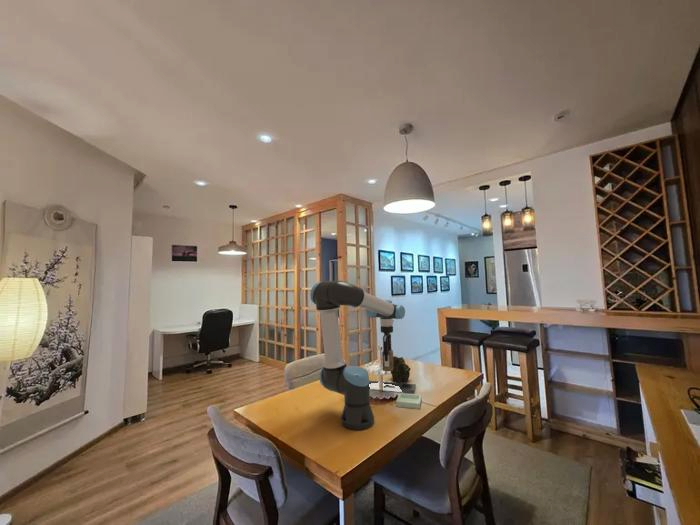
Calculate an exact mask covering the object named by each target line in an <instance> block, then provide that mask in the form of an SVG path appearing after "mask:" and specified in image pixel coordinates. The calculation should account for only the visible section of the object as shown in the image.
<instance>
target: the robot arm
mask: <svg viewBox="0 0 700 525" xmlns="http://www.w3.org/2000/svg"><path fill="white" fill-rule="evenodd" d="M309 298H310V301H311V302H312V303H313V304H314V305H315V307H316V311H317V312H318V313H319V316H320V325H321V335H322V342H323V351H324V362H323V363H322V367H321V368H320V372H319V376H318V378H319V382H320V384H321V386H322V387H323V388H325V389H326V390H328V391H331V392H333V393H337V394H340V395H342V396H343V397H344V399H343V400H344V405H343V408H342V413H341V416H340V424H341V426H343V427H344V428H346V429H347V430H351V431H361V430H366V429H369V428H371V427H373V425H374V424H375V415H374V412H373V409H372V406H371V400H370V399H371V396H370V395H371V394H370V393H371V392H370V391H371V390H370V387H369V382H370V381H369V380H370V374H369V372H368V370H367V369H366V368H364V367H362V366H354V365H349V366H347V361H346V360H345V359H344V358H343V350H342V342H341V340H342V339H341V332H340V331H341V330H340V324H339V314H338V310H339V309H340V308H341V306H350V307H353V308H358V307H360V308H363V309H365V313H366V316H367V317H368V318H369V319H375V318H380V320H379V323H380V324H379V325H380V333H382V334H383V336H382V346H383V347H382V348H383V349H382V351H383V355H384V365H385V366H386V367H389V354H388V353H389V350H393V349H392V333H394V326H393V324H394V322H395V320H402V319H404V317H405V316H406V309H405V306H403V305H402V304H401V305H400V304H394V303H393V301H392V300H391V299H382V298H380V297H377V296H375V295H373V294H370V293H367V292H365V291H364V289H363V288H361V287H360V286H357V285H355V284H352V283H350V282H347V281H344V280H323V281H319V282H316V283H314V284H313V286H312V287H311V289H310V293H309ZM394 319H395V320H394Z"/></svg>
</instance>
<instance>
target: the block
mask: <svg viewBox="0 0 700 525" xmlns="http://www.w3.org/2000/svg"><path fill="white" fill-rule="evenodd" d="M388 354H389V367H386V366H385V365H384V355H383V350H382V352H381V358H382V360H381V362H382V372H390V373H391V372H392V371H393V369H394V368H393V357H394V350H393V349H392V350H389V353H388Z"/></svg>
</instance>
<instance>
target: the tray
mask: <svg viewBox="0 0 700 525" xmlns="http://www.w3.org/2000/svg"><path fill="white" fill-rule="evenodd" d="M422 399H423V398H422V394H415V393H414V394H408V393H398V396H397V398H396V401H395V404H396V407H397V408H406V409H413V410H414V409H415V410H421V404H422Z"/></svg>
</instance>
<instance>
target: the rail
mask: <svg viewBox="0 0 700 525" xmlns="http://www.w3.org/2000/svg"><path fill="white" fill-rule="evenodd" d="M369 381H370V382H369V384H371V383H378V382H379V381H380V380H371V379H369ZM383 383H384V384H392V385H395V386H399V387H400V389H401V390H402V392H403V393H406V394H415V391H416V389H417V385H416V383H408V382H406V383H400V382H396V381H395V382H393V381H392V382H391V381H383Z"/></svg>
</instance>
